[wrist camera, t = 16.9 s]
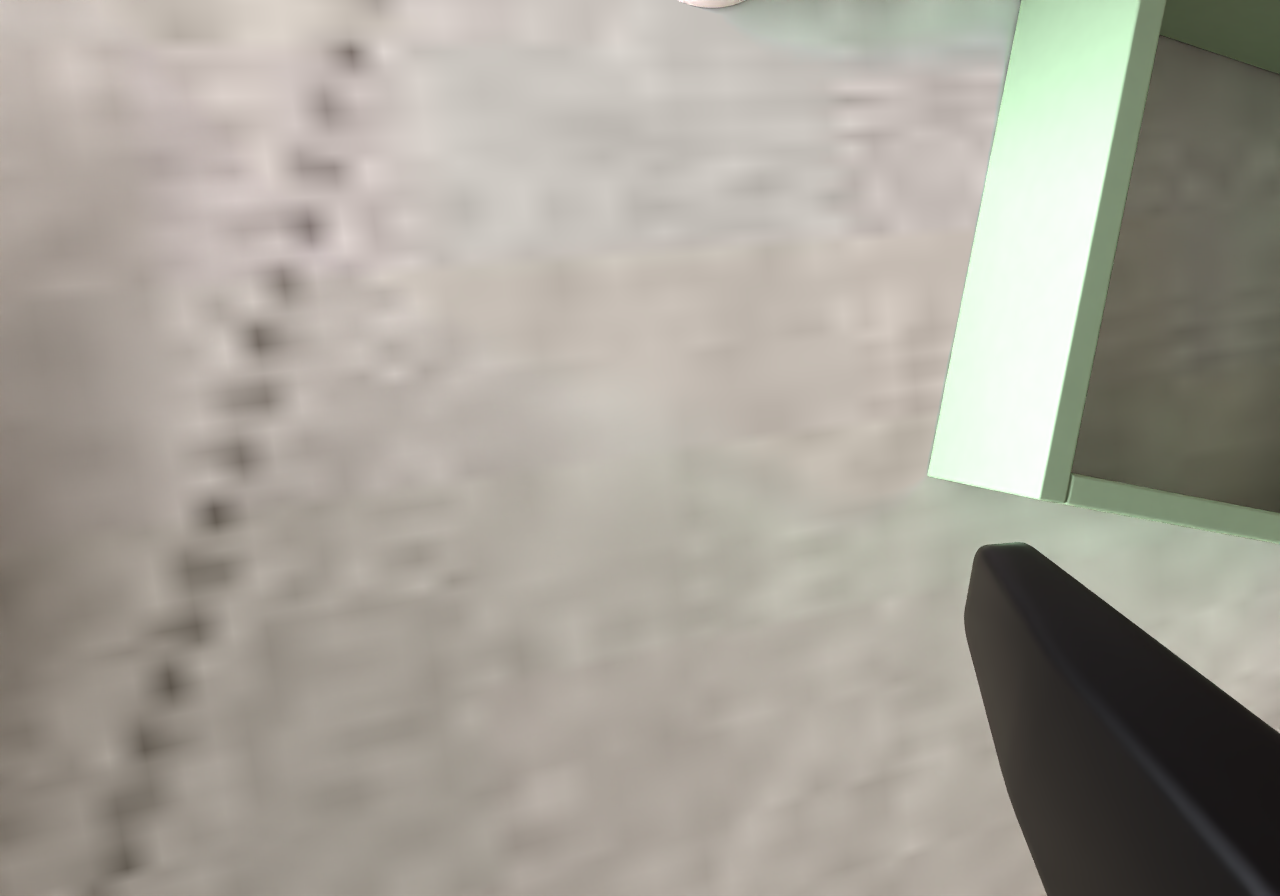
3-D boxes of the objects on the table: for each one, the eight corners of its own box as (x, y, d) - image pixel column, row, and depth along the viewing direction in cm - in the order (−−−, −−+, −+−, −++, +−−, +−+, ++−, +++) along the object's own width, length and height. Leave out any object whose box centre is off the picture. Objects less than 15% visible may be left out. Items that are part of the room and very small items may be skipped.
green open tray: (1294, 544, 27) (1454, 576, 23) (926, 476, 24) (1038, 500, 20) (1390, 85, 26) (1569, 40, 22) (1027, -38, 24) (1161, -114, 20)
